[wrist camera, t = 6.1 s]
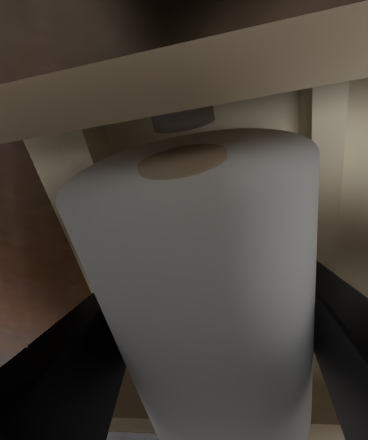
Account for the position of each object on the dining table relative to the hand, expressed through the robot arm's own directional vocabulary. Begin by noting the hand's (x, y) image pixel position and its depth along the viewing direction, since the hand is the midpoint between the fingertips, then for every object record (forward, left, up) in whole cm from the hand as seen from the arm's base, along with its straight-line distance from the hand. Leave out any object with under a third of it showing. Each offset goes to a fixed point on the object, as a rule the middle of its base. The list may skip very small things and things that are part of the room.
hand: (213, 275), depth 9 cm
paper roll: (0, 0, -1) cm, 1 cm away
